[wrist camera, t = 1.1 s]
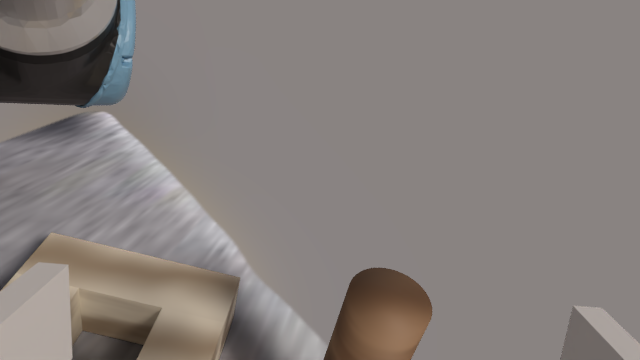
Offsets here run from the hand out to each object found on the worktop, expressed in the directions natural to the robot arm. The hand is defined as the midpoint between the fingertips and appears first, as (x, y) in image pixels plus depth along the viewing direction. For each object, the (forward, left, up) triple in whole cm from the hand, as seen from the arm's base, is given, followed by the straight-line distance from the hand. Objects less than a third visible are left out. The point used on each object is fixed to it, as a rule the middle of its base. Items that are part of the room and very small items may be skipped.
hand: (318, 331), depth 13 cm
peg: (-8, +7, -26) cm, 28 cm away
